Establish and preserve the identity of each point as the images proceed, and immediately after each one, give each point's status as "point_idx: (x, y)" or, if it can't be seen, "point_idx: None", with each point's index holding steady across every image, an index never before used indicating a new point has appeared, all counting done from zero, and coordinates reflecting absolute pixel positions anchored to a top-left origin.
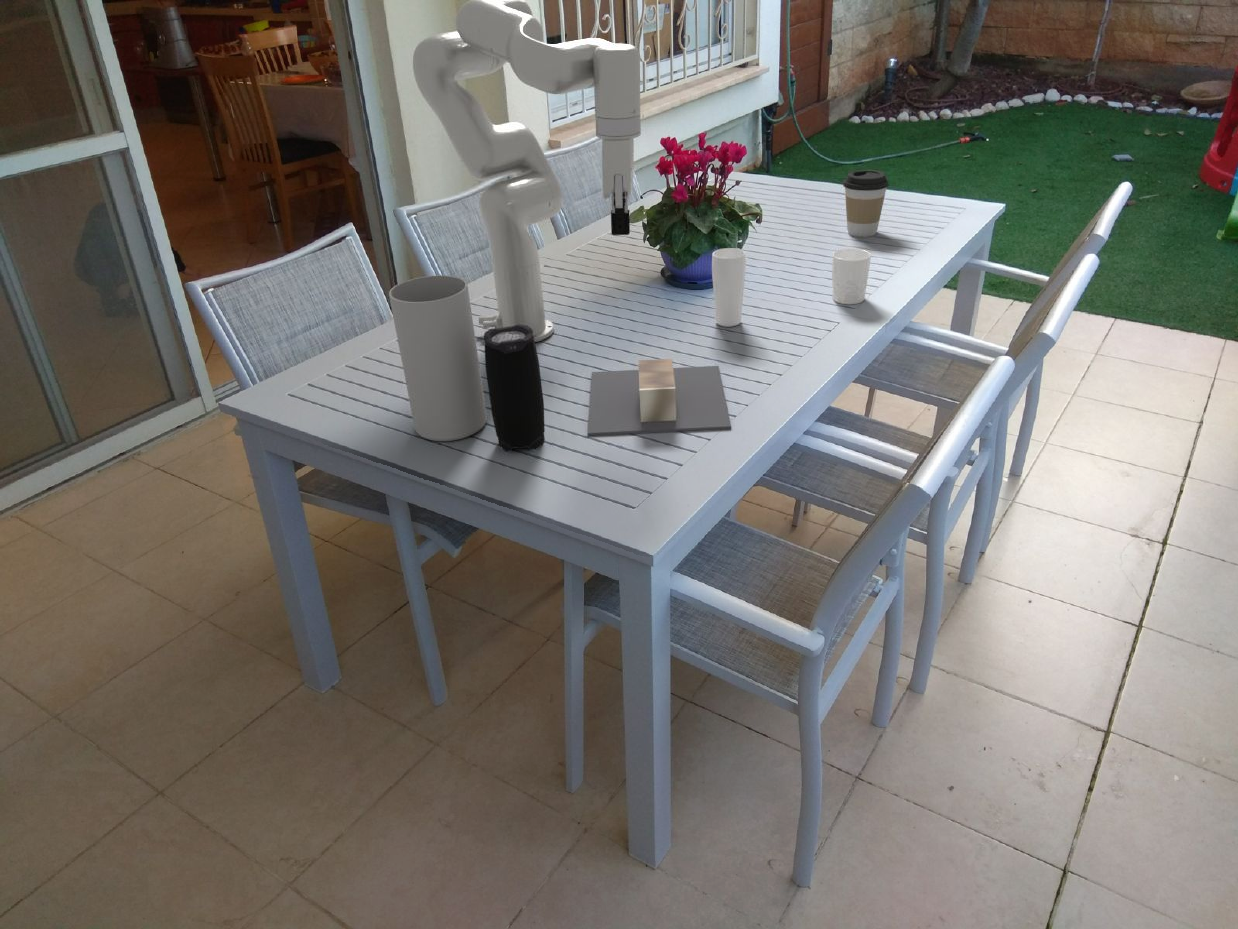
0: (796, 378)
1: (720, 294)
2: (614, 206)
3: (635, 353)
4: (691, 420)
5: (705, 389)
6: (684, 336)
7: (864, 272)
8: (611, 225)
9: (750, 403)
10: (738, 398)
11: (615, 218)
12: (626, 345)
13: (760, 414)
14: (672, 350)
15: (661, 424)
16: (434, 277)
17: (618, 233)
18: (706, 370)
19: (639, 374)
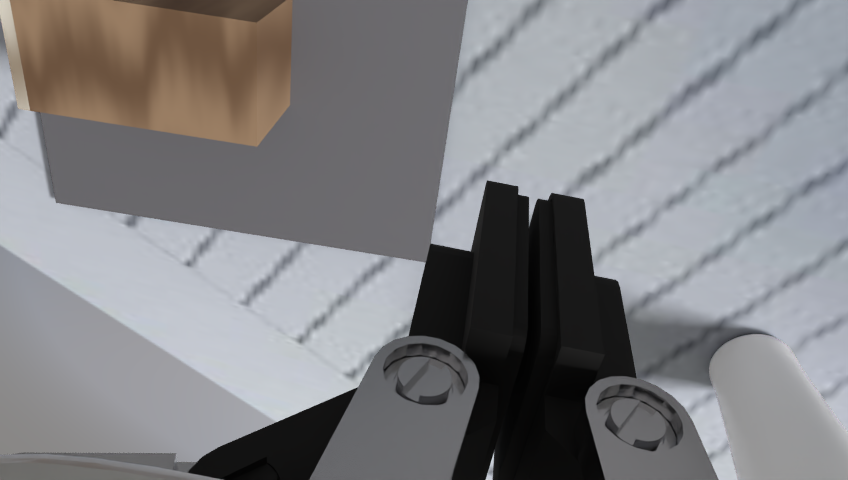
0: (324, 398)
1: (758, 414)
2: (225, 450)
3: (635, 32)
4: None
5: (274, 193)
6: (708, 222)
7: None
8: (484, 228)
9: (199, 274)
10: (230, 256)
11: (414, 323)
12: (728, 9)
13: (139, 279)
14: (608, 163)
15: None
16: None
17: (473, 242)
18: (403, 224)
19: (127, 5)
